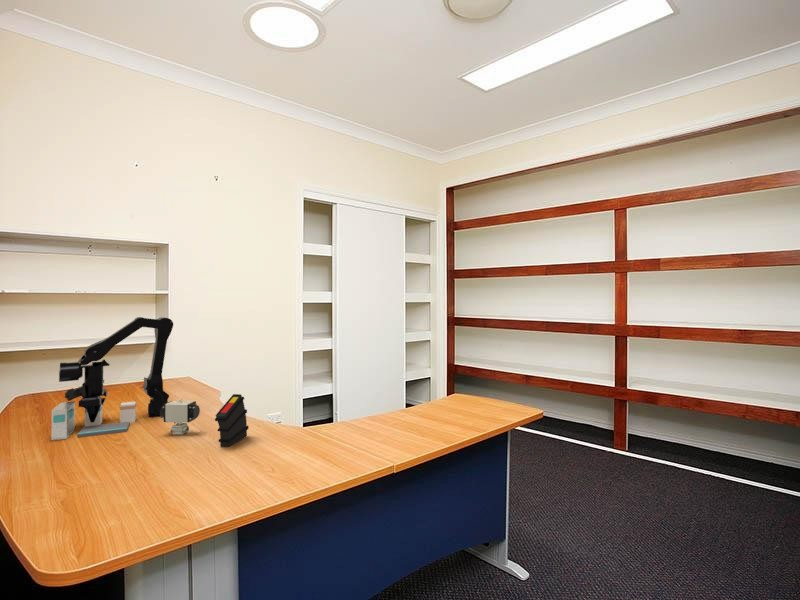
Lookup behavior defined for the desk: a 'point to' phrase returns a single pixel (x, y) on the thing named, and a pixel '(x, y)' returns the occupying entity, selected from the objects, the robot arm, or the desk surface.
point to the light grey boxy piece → (128, 412)
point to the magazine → (232, 421)
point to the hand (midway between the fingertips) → (93, 420)
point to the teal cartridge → (97, 420)
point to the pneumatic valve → (180, 415)
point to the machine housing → (63, 420)
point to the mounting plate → (104, 429)
